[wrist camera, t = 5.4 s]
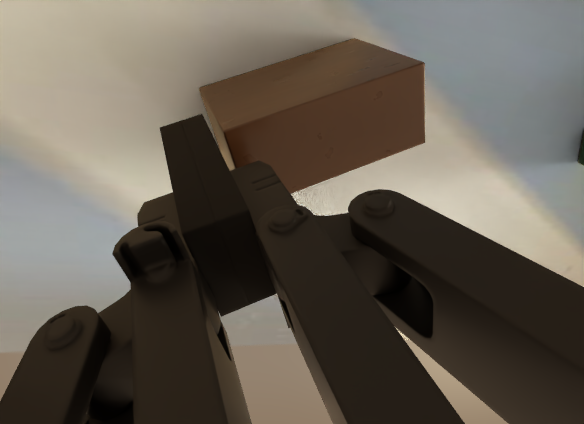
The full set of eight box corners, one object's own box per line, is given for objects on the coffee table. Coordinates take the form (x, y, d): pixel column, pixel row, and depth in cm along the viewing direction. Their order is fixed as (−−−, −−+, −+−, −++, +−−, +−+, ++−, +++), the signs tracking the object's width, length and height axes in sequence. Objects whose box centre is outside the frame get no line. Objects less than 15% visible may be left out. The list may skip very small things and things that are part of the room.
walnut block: (197, 87, 16) (223, 131, 12) (355, 37, 17) (425, 61, 13) (221, 153, 18) (249, 209, 14) (361, 103, 19) (425, 143, 15)
